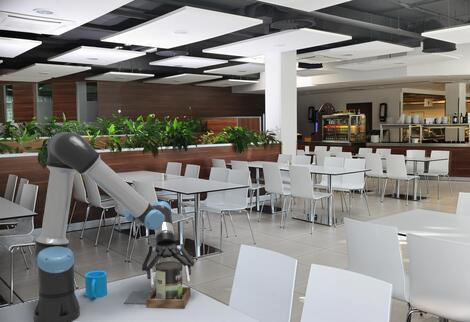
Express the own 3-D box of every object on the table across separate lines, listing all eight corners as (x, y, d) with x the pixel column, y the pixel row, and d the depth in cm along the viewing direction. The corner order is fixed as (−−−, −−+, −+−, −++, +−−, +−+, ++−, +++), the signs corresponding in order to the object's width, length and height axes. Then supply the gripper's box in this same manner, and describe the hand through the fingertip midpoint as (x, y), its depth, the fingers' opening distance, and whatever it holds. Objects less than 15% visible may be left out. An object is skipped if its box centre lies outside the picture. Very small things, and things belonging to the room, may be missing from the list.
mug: (87, 291, 185) (87, 271, 184) (108, 290, 186) (108, 270, 185) (81, 302, 173) (81, 281, 172) (103, 301, 174) (103, 280, 173)
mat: (123, 303, 172) (123, 302, 172) (133, 292, 184) (132, 290, 183) (147, 304, 171) (147, 303, 171) (155, 292, 183) (155, 291, 183)
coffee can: (186, 297, 178) (186, 261, 177) (177, 307, 168) (177, 269, 167) (161, 295, 180) (161, 260, 179) (151, 305, 170) (151, 268, 169)
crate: (146, 307, 168) (146, 299, 168) (155, 293, 182) (155, 286, 182) (184, 308, 167) (184, 300, 167) (190, 294, 181) (190, 287, 181)
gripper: (193, 238, 192) (201, 285, 179) (133, 243, 185) (136, 292, 172) (196, 229, 187) (204, 276, 174) (133, 233, 180) (137, 283, 167)
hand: (170, 284), depth 173 cm, fingers open, 13 cm apart
